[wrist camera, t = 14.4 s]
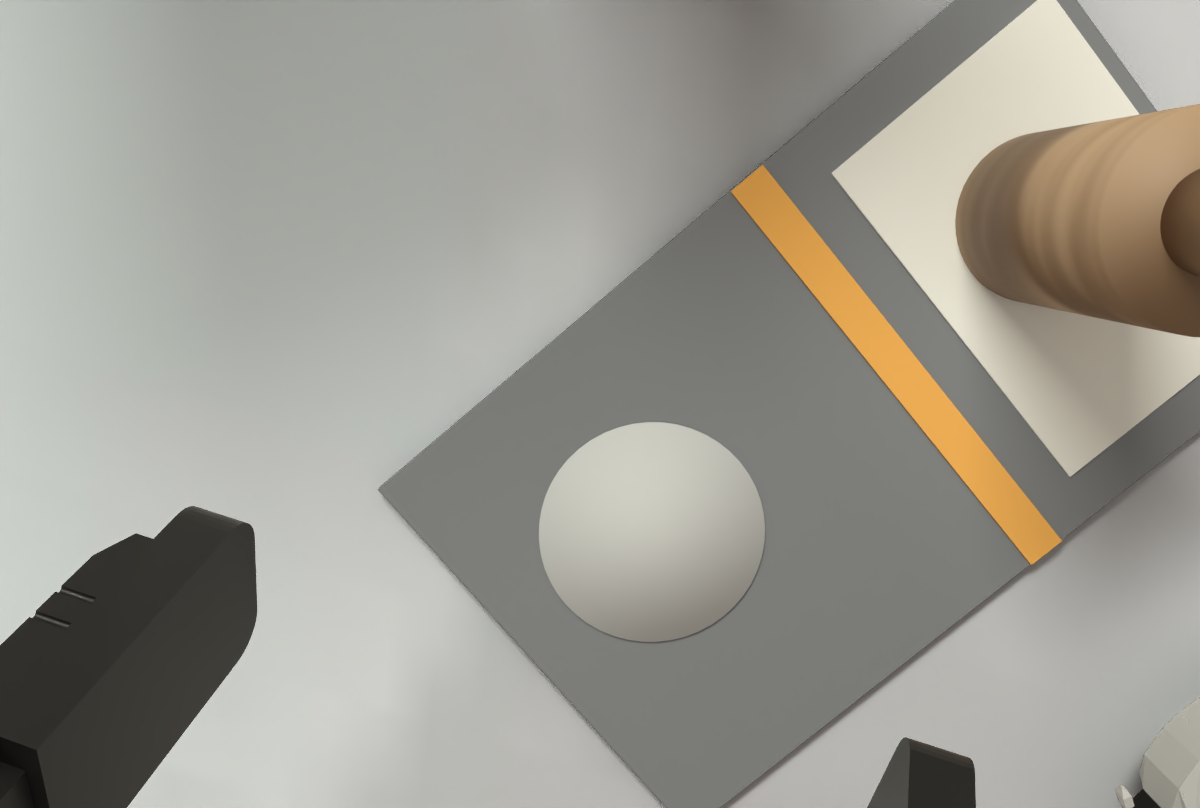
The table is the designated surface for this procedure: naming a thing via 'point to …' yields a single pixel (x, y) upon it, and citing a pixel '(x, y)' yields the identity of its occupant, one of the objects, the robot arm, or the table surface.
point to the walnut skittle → (1093, 220)
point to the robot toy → (1170, 766)
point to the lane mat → (806, 423)
